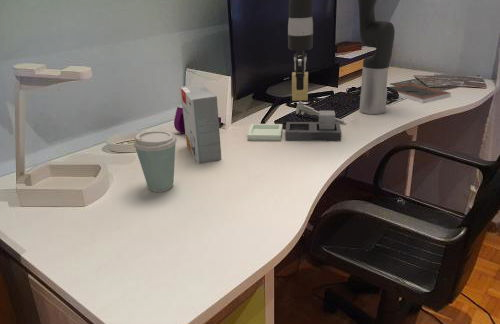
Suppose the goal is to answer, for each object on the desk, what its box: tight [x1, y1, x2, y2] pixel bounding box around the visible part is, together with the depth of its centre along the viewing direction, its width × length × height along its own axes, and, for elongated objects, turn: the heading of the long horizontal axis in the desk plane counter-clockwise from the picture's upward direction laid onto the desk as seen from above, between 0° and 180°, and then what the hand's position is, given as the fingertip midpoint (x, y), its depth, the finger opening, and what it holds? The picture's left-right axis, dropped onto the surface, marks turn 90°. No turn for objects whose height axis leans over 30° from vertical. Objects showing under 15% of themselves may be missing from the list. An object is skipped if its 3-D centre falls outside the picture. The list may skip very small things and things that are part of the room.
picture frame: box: [388, 82, 452, 104], centre depth 180 cm, size 16×2×22 cm
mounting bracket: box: [173, 106, 222, 134], centre depth 148 cm, size 9×8×18 cm
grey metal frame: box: [284, 121, 342, 142], centre depth 139 cm, size 18×10×3 cm, turn 83°
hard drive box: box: [179, 83, 222, 165], centre depth 126 cm, size 16×8×20 cm, turn 21°
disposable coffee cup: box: [133, 129, 177, 193], centre depth 107 cm, size 11×11×15 cm
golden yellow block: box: [291, 71, 309, 102], centre depth 133 cm, size 5×5×8 cm
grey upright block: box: [318, 110, 336, 131], centre depth 138 cm, size 5×5×8 cm
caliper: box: [295, 100, 347, 126], centre depth 153 cm, size 20×1×6 cm, turn 55°
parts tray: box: [246, 123, 283, 142], centre depth 142 cm, size 11×11×2 cm
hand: (300, 87), depth 134 cm, fingers closed on golden yellow block, 5 cm apart
